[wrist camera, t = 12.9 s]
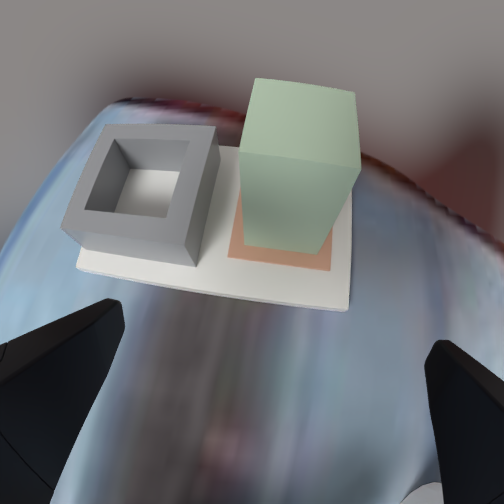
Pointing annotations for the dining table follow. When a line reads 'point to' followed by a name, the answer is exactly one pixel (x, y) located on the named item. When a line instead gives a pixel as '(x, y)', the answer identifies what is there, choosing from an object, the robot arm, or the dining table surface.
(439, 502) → the white cup
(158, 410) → the dining table surface
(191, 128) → the white board with socket
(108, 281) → the dining table surface
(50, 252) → the dining table surface
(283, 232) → the plug
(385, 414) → the dining table surface
